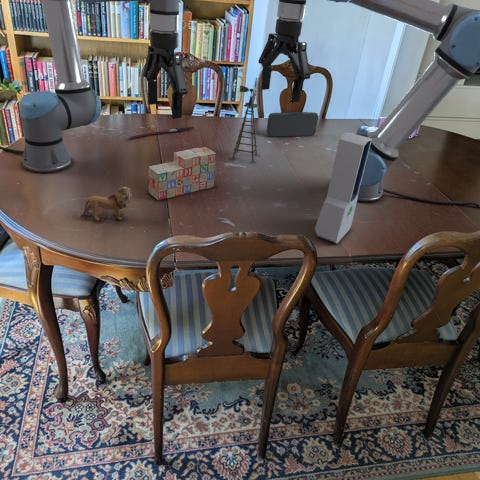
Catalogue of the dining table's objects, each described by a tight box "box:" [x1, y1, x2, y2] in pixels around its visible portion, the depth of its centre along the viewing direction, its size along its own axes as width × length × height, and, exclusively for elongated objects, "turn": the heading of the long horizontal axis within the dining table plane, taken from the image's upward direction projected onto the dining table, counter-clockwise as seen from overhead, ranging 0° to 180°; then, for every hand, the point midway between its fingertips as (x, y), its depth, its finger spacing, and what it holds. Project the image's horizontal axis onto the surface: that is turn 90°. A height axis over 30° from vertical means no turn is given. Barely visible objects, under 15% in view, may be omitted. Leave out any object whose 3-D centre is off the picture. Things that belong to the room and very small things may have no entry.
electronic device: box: [314, 131, 372, 245], centre depth 130 cm, size 12×8×30 cm, turn 148°
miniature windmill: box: [231, 77, 259, 163], centre depth 172 cm, size 9×8×30 cm
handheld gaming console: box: [266, 111, 319, 137], centre depth 203 cm, size 23×3×10 cm, turn 108°
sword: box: [128, 126, 195, 140], centre depth 193 cm, size 31×3×1 cm, turn 126°
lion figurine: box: [79, 186, 133, 222], centre depth 132 cm, size 15×5×9 cm, turn 110°
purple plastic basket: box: [375, 116, 422, 139], centre depth 219 cm, size 20×12×7 cm, turn 109°
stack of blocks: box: [147, 146, 217, 201], centre depth 150 cm, size 21×6×12 cm, turn 128°
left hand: (164, 110), depth 134 cm, fingers open, 13 cm apart
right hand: (279, 95), depth 142 cm, fingers open, 13 cm apart
